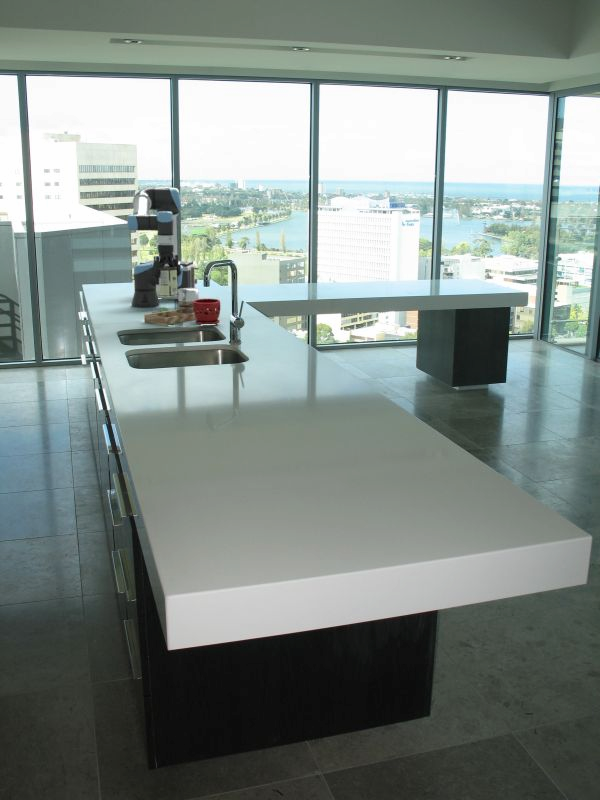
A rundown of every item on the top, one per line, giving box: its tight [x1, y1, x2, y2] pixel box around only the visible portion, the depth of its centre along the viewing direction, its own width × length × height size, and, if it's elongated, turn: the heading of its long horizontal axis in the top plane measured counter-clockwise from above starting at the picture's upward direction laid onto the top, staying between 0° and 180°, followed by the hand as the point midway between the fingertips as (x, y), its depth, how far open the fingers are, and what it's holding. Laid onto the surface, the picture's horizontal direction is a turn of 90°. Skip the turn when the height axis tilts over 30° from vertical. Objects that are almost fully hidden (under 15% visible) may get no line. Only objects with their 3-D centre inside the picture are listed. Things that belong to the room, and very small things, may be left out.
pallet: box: [143, 308, 197, 327], centre depth 417 cm, size 30×16×4 cm, turn 142°
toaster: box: [139, 259, 200, 300], centre depth 494 cm, size 18×34×21 cm, turn 84°
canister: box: [177, 287, 199, 314], centre depth 421 cm, size 10×10×14 cm
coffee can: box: [157, 266, 178, 297], centre depth 407 cm, size 10×10×14 cm
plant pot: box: [193, 298, 221, 325], centre depth 405 cm, size 13×13×12 cm
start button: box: [160, 306, 170, 312], centre depth 427 cm, size 4×4×4 cm
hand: (166, 290), depth 408 cm, fingers closed on coffee can, 10 cm apart
